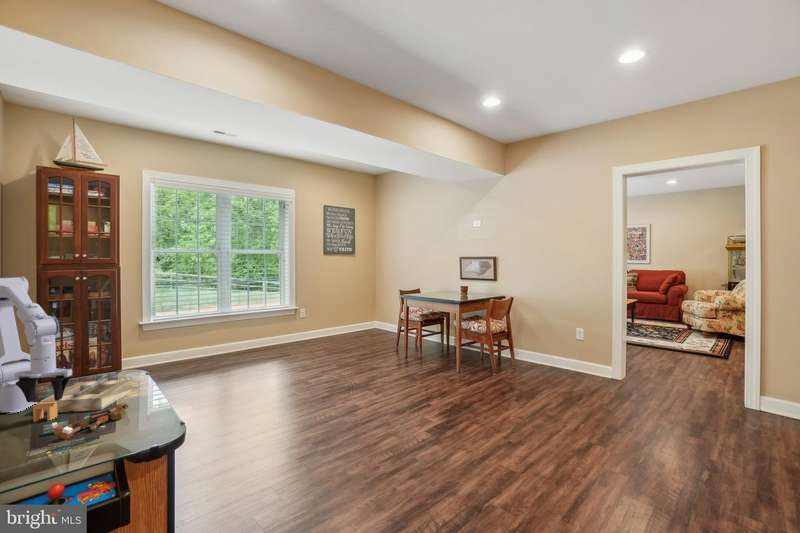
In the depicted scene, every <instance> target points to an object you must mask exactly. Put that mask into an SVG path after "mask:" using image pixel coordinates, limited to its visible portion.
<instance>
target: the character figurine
mask: <svg viewBox="0 0 800 533" xmlns="http://www.w3.org/2000/svg"><path fill="white" fill-rule="evenodd" d="M128 408H129V405H128V404H127V403H124V402H123V403H119V404H116V405H115V407H114V408H111V409H108V410H104V411H103V410H102V411H100V412H97V413H96V412H95V413H90V414H89V415H90V416H89V417H87V418H83V419H80V420H76V421H74V422H72V423H70V424H68V425H65V426H59V424H58V422H57V421H55V422H51V426H52V432H53V434H54V435H59V434H60V439H62V440H68V439H69V438H71V437H73V435H74V433H76V432H78V431H80V430H81V431H82V430H85V429H87V428H88V427H89V429H90V430H91V431H93V430H96V428H98V427H99V425H100V424H107V423H109V421H110V420H111V421H115V420H120V419H122V418H123V417H124V416H125V415H126V414H127V412H126V410H128ZM70 436H71V437H70ZM67 438H68V439H67Z"/></svg>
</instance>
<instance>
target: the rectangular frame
mask: <svg viewBox="0 0 800 533" xmlns="http://www.w3.org/2000/svg"><path fill="white" fill-rule="evenodd" d="M132 391H133V379H121V380H120V379H118V380H116V379H115V380H105V379H100V380H98V381H79V382H76V383H74V384H72V385H71V386H68V387H65V390H64V393H63V397H62V399H60V400H58V401H57V413H71V412H70V411H74V412H87V411H88V412H89V411H103V410H104V409H105V408H107V407H109V406H110V405H112V404H114V402H116V401H118V400H119V399H121V398H122V397H124V396H125V395H127V394H129V393H130V392H132ZM52 401H55V399H54V394H52V395H50V396H47V397H46V398H44V399H42V400H40V401H39V403H40V402H52ZM43 413H44V414H47V408H45V409H43Z"/></svg>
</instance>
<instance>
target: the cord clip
mask: <svg viewBox="0 0 800 533" xmlns="http://www.w3.org/2000/svg"><path fill="white" fill-rule="evenodd" d="M45 408H47V413H46V415H47V416H46V417H47V422H51V421H53V420H55V419H56V418H58V417H57V416H58V412H57V401H52V402H40V401H39V402H38V403H37V404H36V405H33V406H32V419H33V420H32V421H33V423H36V422H38V421H40V420H42V419H43V417H45V416H44V415H45V413H43V409H45ZM55 417H56V418H55ZM41 418H42V419H41ZM39 419H40V420H39ZM52 419H53V420H52ZM50 420H51V421H50Z"/></svg>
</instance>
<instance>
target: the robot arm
mask: <svg viewBox="0 0 800 533" xmlns="http://www.w3.org/2000/svg"><path fill="white" fill-rule="evenodd" d="M28 291H29V281H28V279H27V278H26V277H24V276H19V277H18V276H17V277H15V276H14V277H0V411H1V412H10V413H9V414H18V413H17V412H19V413H21V412H23V411H25V410H27V409H29V408H31V407H33V406H34V404H38V403H39V402H38V401H35V400H36V387H37V386H36V385H37V383H38V382H37V381H38V379H40V378H41V379H42V378H53V379H50V383H51V385H52V389H53V395H54V399H55V401H58V400H60V399H62V397H63V393H64V390H65V389H66V388H67V387H66V386H67V385H68V383H69V382H70V379H71V378H72V376H73V369H72V368H57V354H56V335H58V334H59V331H60V324H59V321H58V320H57V318H56V317H55V316H51V315H48V314H47V313H46V312H45V311H44V309H43V308H42V306H40V304H38V303H36V302H33V301H32V299H31V298H30V296H29V294H28V293H29V292H28ZM14 307H16V308H17V311H16V315H15V311H14ZM16 316H17V317H18V318H19V319H20V321H21V323H22V324H23V325H24V334H25V336H26V340H27V344H28V345H29V353H28V352H27V353H26V352H24V351H22V349H21V348H22V346H21V342H20V337H19V331H18V327H17V321H16ZM32 405H33V406H32ZM30 406H31V407H30ZM28 407H29V408H28ZM26 408H27V409H26ZM20 411H21V412H20Z"/></svg>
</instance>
